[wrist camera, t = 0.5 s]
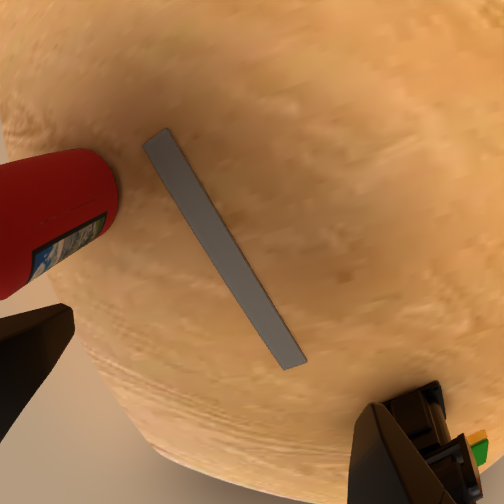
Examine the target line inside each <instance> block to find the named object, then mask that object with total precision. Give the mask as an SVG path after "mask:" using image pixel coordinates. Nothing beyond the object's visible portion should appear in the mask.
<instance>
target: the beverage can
mask: <svg viewBox="0 0 504 504" xmlns="http://www.w3.org/2000/svg"><path fill="white" fill-rule="evenodd" d="M117 204H118V194H117V187H116V183H115V179H114V177H113V174H112V172H111V170H110V168H109V167H108V165H107V164H106V162H105V161H104V160H103V159H102V158H101V157H100V156H99V155H97V154H96V153H94V152H92V151H90V150H87V149H72V150H66V151H60V152H54V153H49V154H44V155H39V156H35V157H30V158H26V159H22V160H17V161H13V162H9V163H6V164H2V165H0V300H4V299H6V298H8V297H9V296H11V295H12V294H13V293H15V292H16V291H18V290H19V289H20V288H22V287H23V286H25V285H26V284H28V283H29V282H31V281H32V280H34V279H35V278H37V277H38V276H40V275H41V274H43V273H44V272H46V271H47V270H49V269H50V268H52V267H53V266H55V265H56V264H58V263H59V262H61V261H62V260H64V259H65V258H67V257H68V256H70V255H71V254H73V253H74V252H76V251H77V250H79V249H81V248H82V247H84V246H85V245H87V244H88V243H90V242H91V241H93V240H94V239H96V238H98V237H99V236H101V235H102V234H104V233H105V232H106V231H107V230H108V228H109V227H110V226H111V224H112V222H113V220H114V218H115V215H116V211H117Z"/></svg>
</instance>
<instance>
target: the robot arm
mask: <svg viewBox="0 0 504 504" xmlns="http://www.w3.org/2000/svg"><path fill="white" fill-rule="evenodd" d="M74 332H75V324H74V315H73V310H72V308H71V307H69V306H67V305H65V304H62V303H59V304H55V305H51V306H47V307H43V308H40V309H36V310H32V311H27V312H24V313H20V314H16V315H12V316H8V317H4V318H0V443H1V441H2V440H3V438H4V437H5V435H6V434H7V432H8V431H9V429H10V427H11V426H12V424H13V423H14V422H15V420H16V419H17V417H18V416H19V415H20V413H21V412H22V410H23V409H24V408H25V406H26V405H27V403H28V402H29V401H30V399H31V398H32V396H33V395H34V394H35V392H36V391H37V389H38V388H39V387H40V385H41V384H42V383H43V381H44V380H45V379H46V378H47V376H48V375H49V373H50V372H51V371H52V369H53V368H54V366H55V364H56V363H57V361H58V359H59V358H60V356H61V355H62V353H63V351H64V350H65V348H66V346H67V345H68V343H69V342H70V340H71V338H72V337H73V335H74ZM445 420H446V413H445V407H444V401H443V395H442V390H441V386H440V383H439V382H434V383H431V384H429V385H427V386H425V387H422V388H420V389H418V390H415V391H413V392H410V393H408V394H406V395H403V396H401V397H398V398H395V399H393V400H390V401H388V402H385V403H382V404H379V403H373V402H371V403H369V404H368V405H367V406H366V407H365V409H364V410H363V412H362V413H361V414H360V416H359V417H358V419H357V420H356V423H355V427H354V435H353V443H352V450H351V458H350V465H349V475H348V498H347V504H476V501H478V500H479V499H481V498H483V493H482V487H481V481H480V475H479V470H478V467H477V463H476V460H475V457H474V454H473V451H472V449H471V447H470V445H469V443H468V441H467V439H466V437H465V435H464V433H462V434H460V435H458V437H457V438H455V439H453V440H451V437H450V434H449V431H448V428H447V424H446V421H445Z"/></svg>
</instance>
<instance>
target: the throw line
mask: <svg viewBox="0 0 504 504" xmlns="http://www.w3.org/2000/svg"><path fill="white" fill-rule="evenodd" d="M142 147H143V148H144V150H145V152H146V154H147V155H148V157H149V159H150V160H151V162H152V164H153V166H154V167H155V169H156V171H157V172H158V174H159V176H160V177H161V179H162V181H163V183H164V184H165V186H166V188H167V189H168V191H169V193H170V194H171V196H172V198H173V199H174V201H175V203H176V204H177V206H178V208H179V209H180V211H181V213H182V214H183V216H184V218H185V219H186V221H187V222H188V224H189V226H190V227H191V229H192V231H193V232H194V234H195V235H196V237H197V239H198V240H199V242H200V243H201V245H202V247H203V248H204V250H205V252H206V253H207V255H208V256H209V258H210V259H211V261H212V263H213V264H214V266H215V267H216V269H217V271H218V272H219V274H220V275H221V277H222V278H223V280H224V282H225V283H226V285H227V286H228V288H229V289H230V291H231V292H232V294H233V296H234V297H235V299H236V300H237V302H238V303H239V305H240V306H241V308H242V309H243V311H244V312H245V314H246V315H247V317H248V319H249V320H250V322H251V323H252V325H253V326H254V328H255V329H256V331H257V332H258V334H259V335H260V337H261V338H262V340H263V341H264V343H265V344H266V346H267V347H268V349H269V350H270V351H271V353H272V354H273V356H274V357H275V359H276V360H277V362H278V363H279V365H280V366H281V368H282V369H283V370H286V369H290V368H293V367H296V366H299V365H302V364H305V363H307V359H306V357H305V356H304V354H303V352H302V351H301V349H300V347H299V346H298V344H297V343H296V341H295V339H294V338H293V336H292V334H291V333H290V331H289V329H288V328H287V326H286V325H285V323H284V321H283V320H282V318H281V316H280V315H279V313H278V311H277V310H276V308H275V306H274V305H273V303H272V302H271V300H270V298H269V297H268V295H267V293H266V292H265V290H264V288H263V287H262V285H261V283H260V282H259V280H258V278H257V277H256V275H255V273H254V272H253V270H252V268H251V267H250V265H249V264H248V262H247V260H246V259H245V257H244V255H243V254H242V252H241V250H240V249H239V247H238V245H237V244H236V242H235V240H234V239H233V237H232V235H231V234H230V232H229V230H228V229H227V227H226V225H225V224H224V222H223V220H222V219H221V217H220V215H219V214H218V212H217V210H216V208H215V207H214V205H213V203H212V202H211V200H210V198H209V197H208V195H207V193H206V192H205V190H204V188H203V187H202V185H201V183H200V182H199V180H198V178H197V177H196V175H195V173H194V171H193V170H192V168H191V166H190V165H189V163H188V161H187V160H186V158H185V156H184V155H183V153H182V151H181V150H180V148H179V146H178V144H177V143H176V141H175V139H174V138H173V136H172V134H171V133H170V131H169V129H168V128H165V129H164V130H162V131H161V132H160V133H158V134H157V135H156V136H154V137H153V138H151V139H150V140H149V141H147V142H146V143H145V144H143V145H142Z"/></svg>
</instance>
